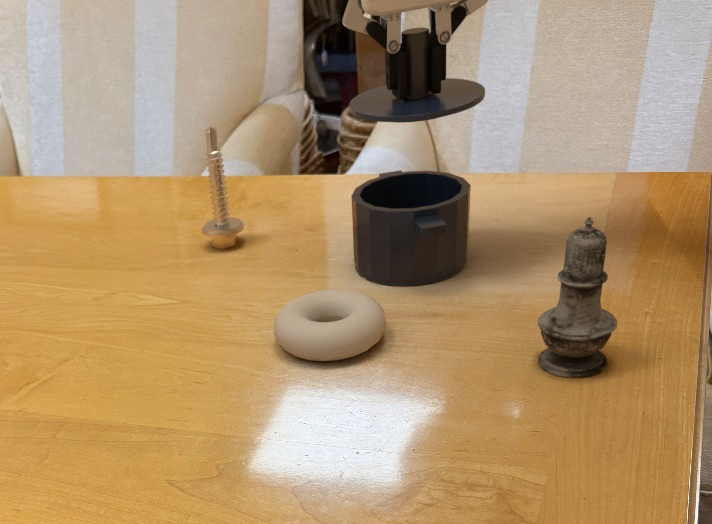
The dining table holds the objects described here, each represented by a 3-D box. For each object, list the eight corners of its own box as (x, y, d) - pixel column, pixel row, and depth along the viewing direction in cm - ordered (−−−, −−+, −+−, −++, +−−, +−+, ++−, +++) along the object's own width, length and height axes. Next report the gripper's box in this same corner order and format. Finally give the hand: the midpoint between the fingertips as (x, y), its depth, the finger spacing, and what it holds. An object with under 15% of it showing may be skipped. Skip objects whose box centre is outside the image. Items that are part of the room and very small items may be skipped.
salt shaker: (577, 387, 71) (596, 239, 64) (518, 362, 75) (529, 220, 68) (627, 360, 73) (651, 214, 66) (567, 337, 77) (583, 197, 70)
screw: (201, 254, 103) (207, 237, 106) (243, 251, 102) (248, 235, 105) (183, 135, 95) (191, 122, 99) (229, 131, 94) (235, 118, 98)
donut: (252, 349, 83) (333, 379, 76) (248, 314, 81) (331, 342, 74) (327, 308, 88) (410, 333, 81) (325, 274, 86) (409, 297, 79)
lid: (461, 82, 89) (462, 7, 85) (504, 113, 79) (507, 30, 75) (338, 104, 89) (333, 31, 85) (365, 137, 79) (361, 56, 76)
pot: (441, 226, 100) (442, 156, 95) (491, 286, 87) (495, 209, 82) (340, 242, 100) (337, 173, 96) (374, 305, 87) (372, 228, 82)
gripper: (496, -169, 75) (489, 69, 86) (305, -133, 76) (321, 99, 87) (529, -169, 69) (517, 87, 80) (321, -131, 70) (337, 119, 81)
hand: (415, 91), depth 83 cm, fingers closed on lid, 2 cm apart
